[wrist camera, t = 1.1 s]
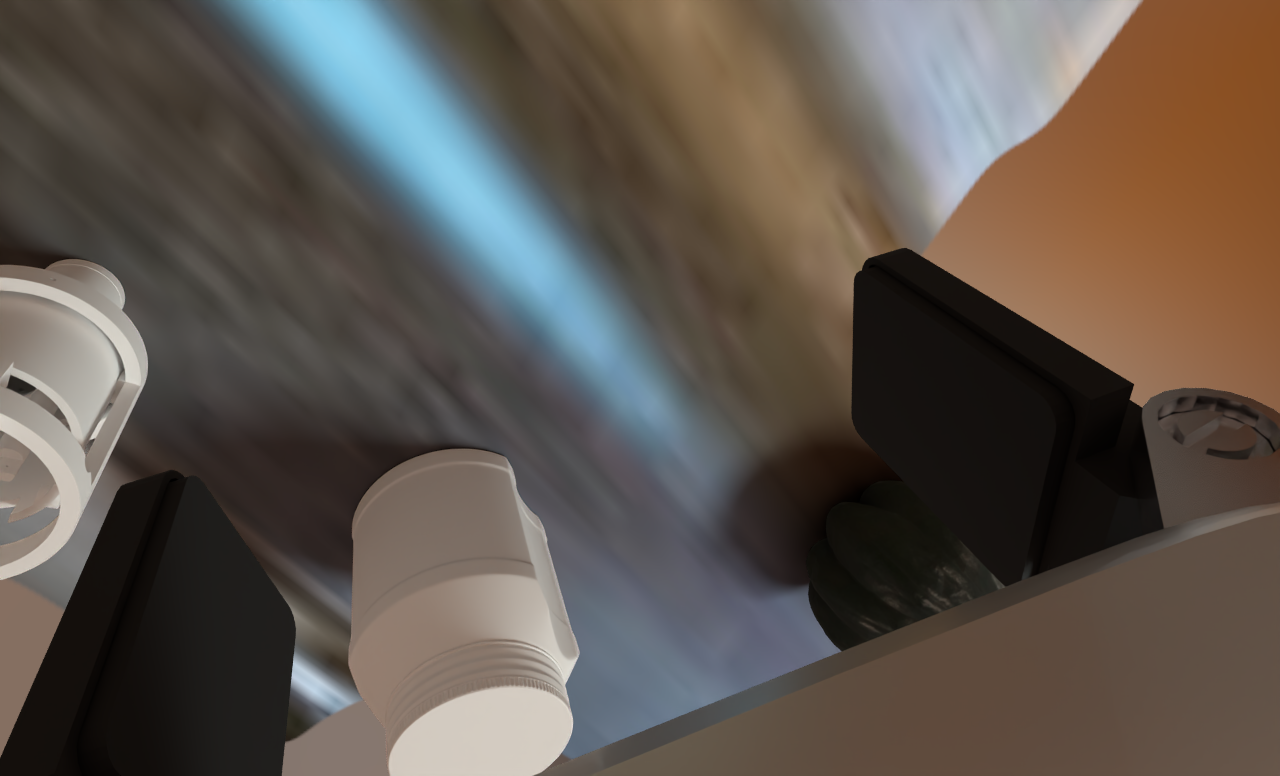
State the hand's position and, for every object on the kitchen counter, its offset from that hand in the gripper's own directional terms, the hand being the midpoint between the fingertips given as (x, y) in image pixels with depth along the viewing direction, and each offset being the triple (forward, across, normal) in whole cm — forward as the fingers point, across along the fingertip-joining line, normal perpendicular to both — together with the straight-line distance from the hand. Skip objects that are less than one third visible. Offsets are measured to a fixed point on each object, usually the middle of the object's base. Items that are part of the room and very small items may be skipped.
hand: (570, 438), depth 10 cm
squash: (+27, -22, +38) cm, 51 cm away
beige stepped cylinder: (+27, +17, +5) cm, 32 cm away
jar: (+27, +7, +24) cm, 36 cm away
